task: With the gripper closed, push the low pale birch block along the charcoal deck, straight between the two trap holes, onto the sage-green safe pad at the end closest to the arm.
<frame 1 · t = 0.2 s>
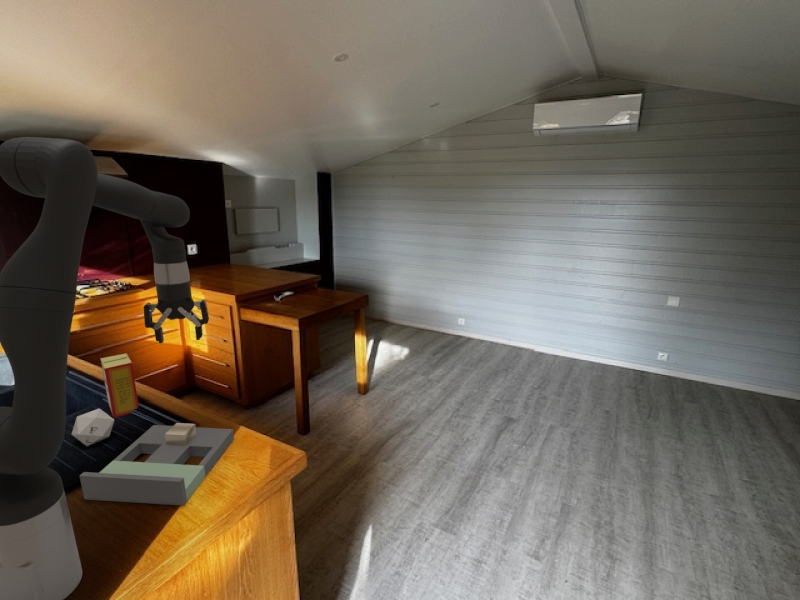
hand: (180, 340, 104), 27 cm above the worktop, tool pointing down, fingers open, 8 cm apart
die: (95, 440, 107), on the worktop
birch block: (181, 439, 103), point 3 cm above the worktop, touching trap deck
baking soda box: (124, 408, 123), on the worktop
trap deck: (167, 465, 98), on the worktop
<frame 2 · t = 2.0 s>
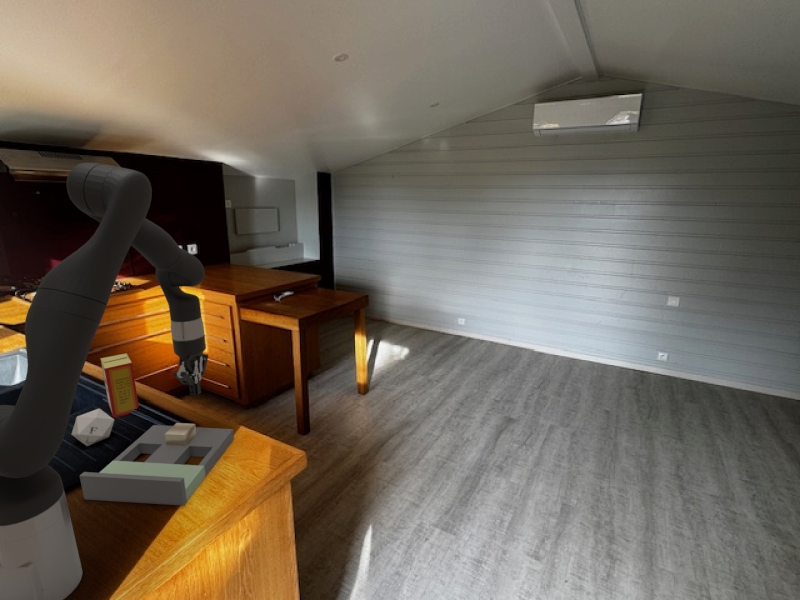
hand: (195, 394, 109), 11 cm above the worktop, tool pointing down, fingers closed
nothing on the worktop moved.
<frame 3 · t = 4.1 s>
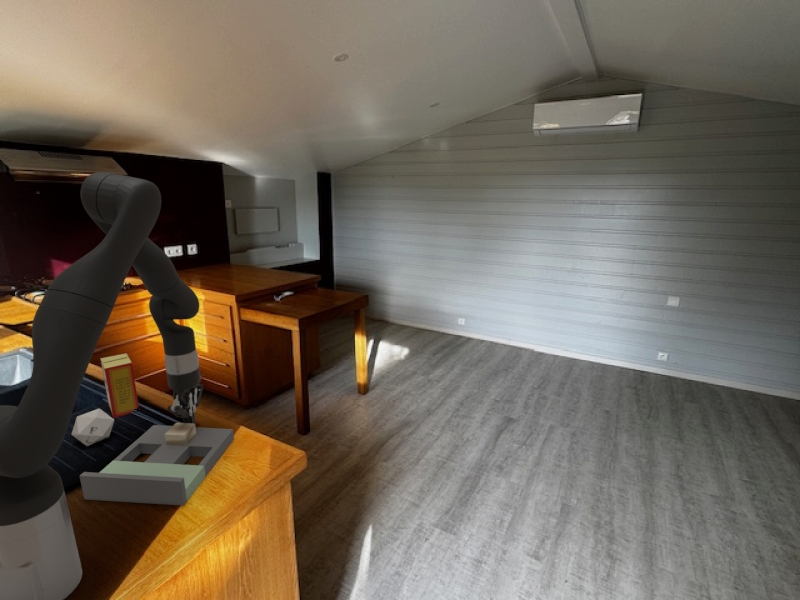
hand: (190, 426, 107), 4 cm above the worktop, tool pointing down, fingers closed
birch block: (181, 438, 103), point 3 cm above the worktop, touching gripper, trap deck
everything else where it was.
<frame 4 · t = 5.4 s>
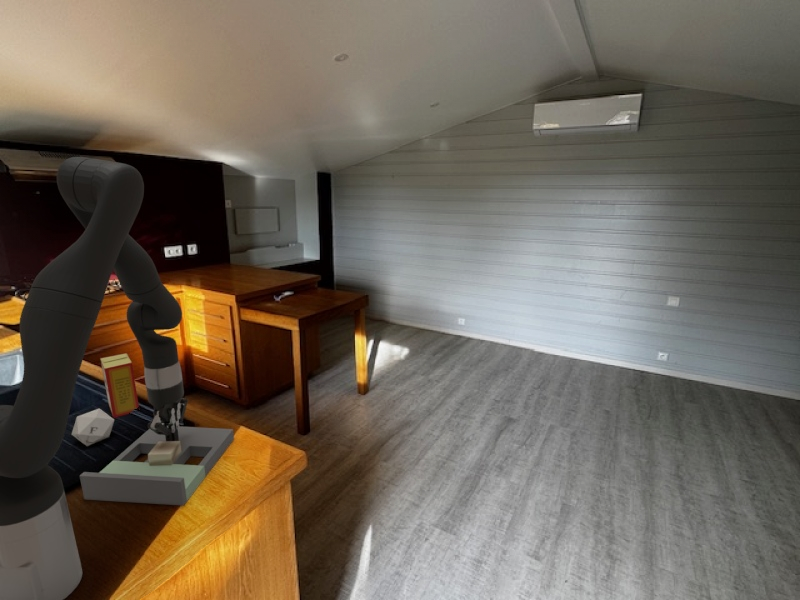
hand: (173, 443, 100), 4 cm above the worktop, tool pointing down, fingers closed
birch block: (165, 458, 96), point 3 cm above the worktop, touching gripper
everything else where it was.
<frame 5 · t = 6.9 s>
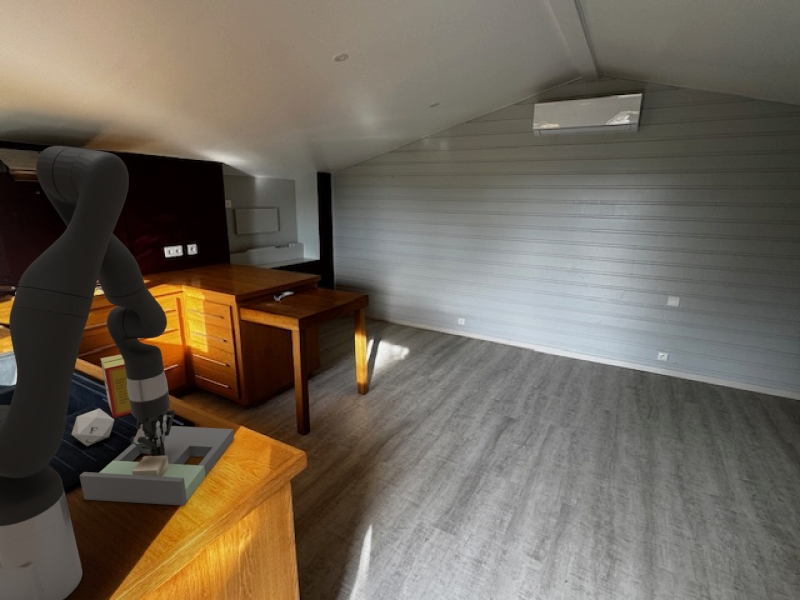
hand: (159, 457, 94), 4 cm above the worktop, tool pointing down, fingers closed
birch block: (152, 474, 90), point 3 cm above the worktop, touching gripper, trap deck
everything else where it was.
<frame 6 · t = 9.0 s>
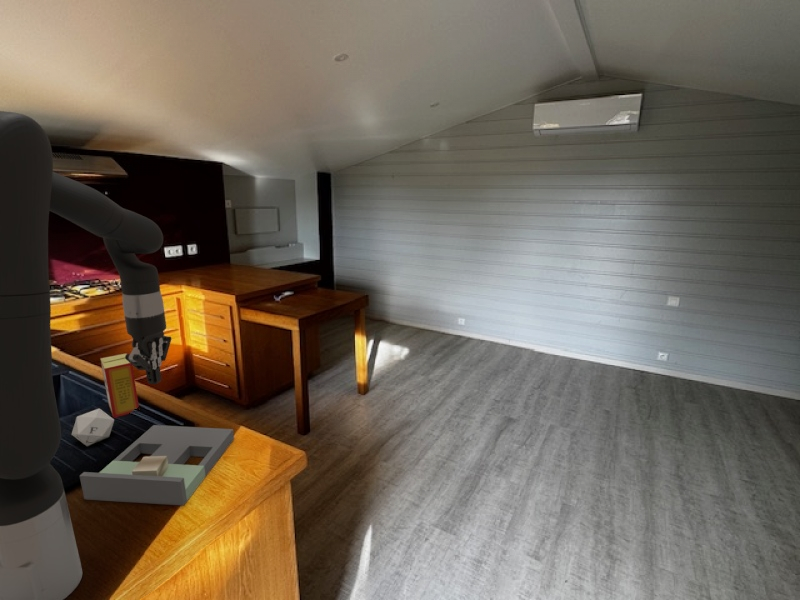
hand: (154, 382, 93), 22 cm above the worktop, tool pointing down, fingers closed
birch block: (151, 474, 90), point 3 cm above the worktop, touching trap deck
everything else where it was.
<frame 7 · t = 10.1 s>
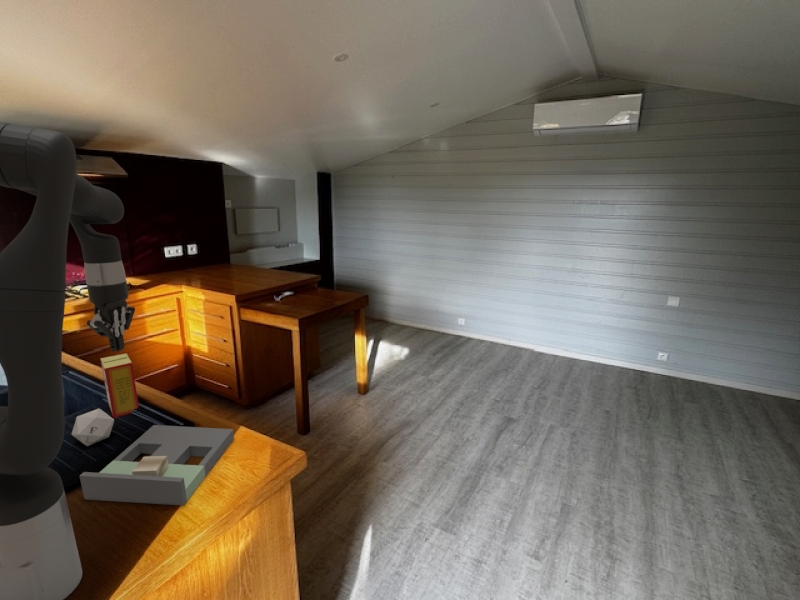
hand: (118, 350, 98), 27 cm above the worktop, tool pointing down, fingers closed
nothing on the worktop moved.
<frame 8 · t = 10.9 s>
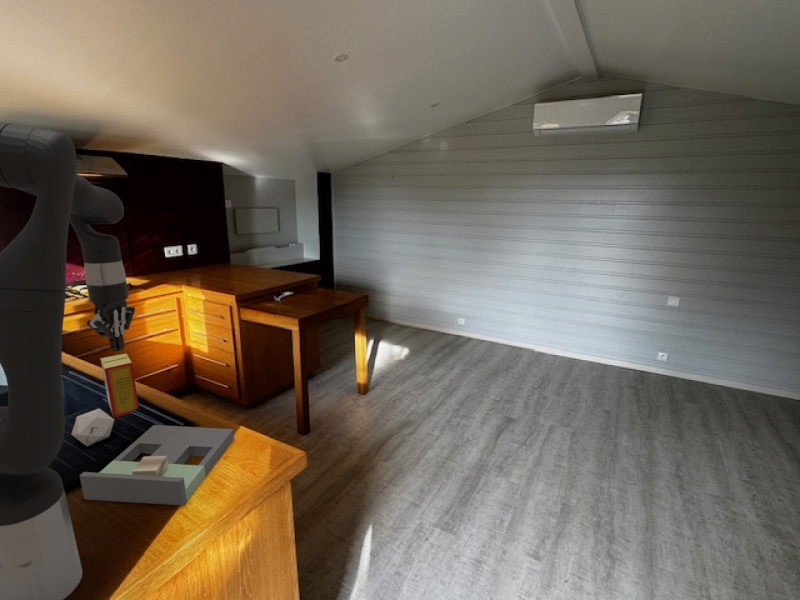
hand: (118, 350, 98), 27 cm above the worktop, tool pointing down, fingers closed
nothing on the worktop moved.
at the end: birch block inside the target area (1.0 cm from its centre), point 3.0 cm above the worktop; birch block tilted 0° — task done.
